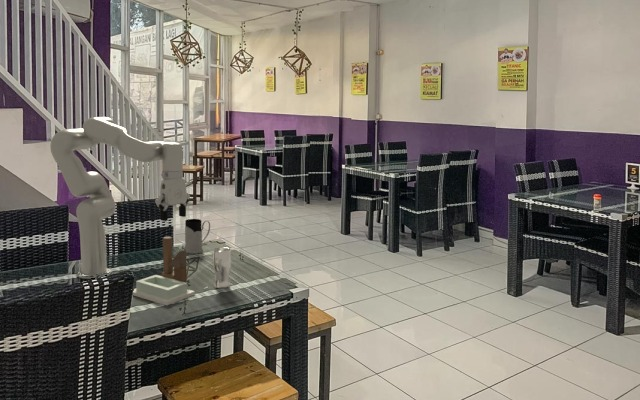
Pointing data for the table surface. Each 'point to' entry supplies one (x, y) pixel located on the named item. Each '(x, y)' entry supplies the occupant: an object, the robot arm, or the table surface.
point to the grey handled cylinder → (194, 235)
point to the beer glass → (222, 266)
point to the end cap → (162, 289)
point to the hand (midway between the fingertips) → (173, 218)
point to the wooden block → (173, 262)
